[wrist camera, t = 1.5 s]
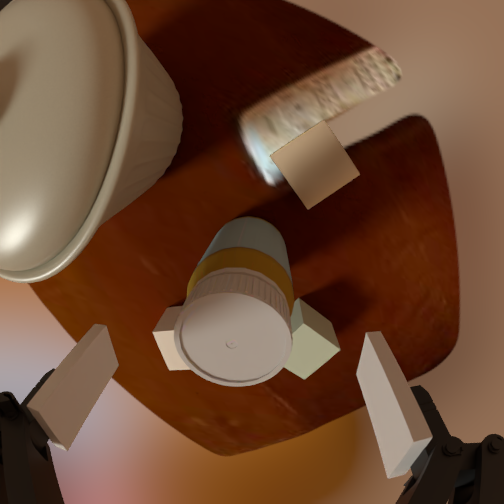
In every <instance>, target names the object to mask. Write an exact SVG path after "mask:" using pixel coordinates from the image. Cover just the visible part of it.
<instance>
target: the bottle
mask: <svg viewBox="0 0 504 504" xmlns="http://www.w3.org/2000/svg"><path fill="white" fill-rule="evenodd" d="M293 307H294V292H293V285H292V279H291V273H290V267H289V262H288V256H287V251H286V245H285V242H284V240H283V238H282V236H281V234H280V232H279V231H278V230H277V229H276V228H275V227H274V226H273V225H272V224H271V223H269V222H267V221H265V220H263V219H261V218H257V217H251V216H246V217H240V218H236V219H234V220H232V221H230V222H228V223H227V224H225V225H224V226H223V227H222V228H221V229H220V230H219V232H218V233H217V234H216V236H215V238H214V239H213V241H212V242H211V244H210V246H209V247H208V249H207V250H206V252H205V254H204V255H203V257H202V259H201V260H200V262H199V263H198V265H197V267H196V268H195V270H194V272H193V274H192V277H191V279H190V281H189V284H188V288H187V299H186V301H185V303H184V304H183V306H182V308H181V310H180V312H179V314H178V316H177V319H176V321H175V326H174V342H175V346H176V349H177V352H178V354H179V355H180V357H181V359H182V360H183V361H184V363H185V364H186V365H187V366H188V367H189V368H190V369H191V370H192V371H194V372H195V373H196V374H198V375H199V376H201V377H203V378H205V379H207V380H209V381H211V382H214V383H217V384H221V385H226V386H249V385H254V384H258V383H261V382H263V381H266V380H268V379H269V378H271V377H273V376H274V375H275V374H277V373H278V372H279V371H280V370H281V369H282V368H283V367H284V365H285V364H286V362H287V360H288V358H289V356H290V353H291V350H292V349H291V347H292V345H293V344H292V341H293V337H292V328H291V319H290V317H291V315H292V311H293Z"/></svg>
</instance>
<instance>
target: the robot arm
mask: <svg viewBox="0 0 504 504" xmlns="http://www.w3.org/2000/svg"><path fill="white" fill-rule="evenodd" d="M11 1H12V0H0V11H1V10H2V9H3V8H4V7H5V6H7V5H8V4H9V3H10V2H11ZM118 366H119V364H118V361H117V358H116V355H115V352H114V349H113V346H112V343H111V340H110V337H109V333H108V330H107V326H106V325H99V324H94V325H93V327H92V328H91V329H90V330H89V331H88V332H87V333H86V334H85V336H84V337H83V338H82V339H81V340H80V341H79V342H78V344H77V345H76V346H75V347H74V348H73V349H72V351H71V352H70V353H69V354H68V355H67V356H66V358H65V359H64V360H63V361H62V362H61V364H60V365H59V366H58V367H57V368H56V369H52V370H50V371H49V372H47V373H46V374H45V375H44V376H43V377H42V378H41V380H40V382H38V383H37V385H36V387H34V388H33V389H32V391H31V392H30V393H29V394H28V396H27V397H26V398H25V399H24V401H23V402H22V403H21V404H19V403H18V401H17V400H16V398H15V397H14V395H13V394H12V393H11V392H2V393H0V504H64V501H63V498H62V494H61V491H60V488H59V484H58V481H57V477H56V473H55V470H54V465H53V462H52V456H51V452H50V447H49V445H48V444H47V441H48V439H50V440H51V441H52V443H53V444H54V445H55V446H56V447H59V448H61V449H63V450H65V451H68V450H69V448H70V446H71V444H72V442H73V441H74V439H75V437H76V435H77V434H78V432H79V430H80V428H81V427H82V425H83V423H84V421H85V420H86V418H87V416H88V415H89V413H90V411H91V409H92V408H93V406H94V405H95V403H96V401H97V400H98V398H99V396H100V394H101V393H102V392H103V390H104V388H105V387H106V385H107V383H108V382H109V380H110V379H111V377H112V375H113V374H114V372H115V371H116V369H117V367H118ZM356 375H357V378H358V381H359V384H360V387H361V390H362V393H363V396H364V399H365V402H366V405H367V408H368V412H369V415H370V418H371V421H372V424H373V428H374V431H375V435H376V438H377V442H378V445H379V449H380V452H381V456H382V459H383V463H384V467H385V470H386V474H387V477H388V478H393V477H397V476H401V475H405V474H406V473H407V471H408V470H409V469H410V468H411V470H412V473H413V475H412V476H411V477H410V478H409V480H408V481H407V482H406V483H405V484H404V486H405V489H404V490H403V492H402V494H401V495H400V497H399V499H398V500H397V502H396V504H446V503H447V501H448V504H504V438H503V437H501V436H500V435H497V434H491V435H488V436H487V437H485V439H484V440H483V441H482V442H481V443H463V442H462V441H461V440H460V439H459V438H457V437H453V436H451V435H450V434H449V432H448V430H447V428H446V426H445V424H444V422H443V420H442V418H441V416H440V414H439V412H438V410H436V406H435V404H434V403H433V400H432V398H431V396H430V395H429V393H428V392H427V391H426V390H425V389H424V388H423V387H421V386H420V385H419V386H414V387H409V385H408V383H407V381H406V379H405V377H404V375H403V373H402V371H401V369H400V367H399V365H398V363H397V361H396V359H395V357H394V356H393V354H392V352H391V350H390V348H389V346H388V344H387V342H386V341H385V339H384V337H383V335H382V333H381V331H379V332H366V336H365V340H364V345H363V349H362V353H361V358H360V362H359V366H358V370H357V374H356ZM448 499H449V500H448Z"/></svg>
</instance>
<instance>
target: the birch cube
mask: <svg viewBox="0 0 504 504" xmlns="http://www.w3.org/2000/svg"><path fill="white" fill-rule="evenodd" d="M270 157H271V159H272V160H273V161H274V163H275V164H276V166H277V167H278V168H279V170H280V171H281V173H282V174H283V175H284V177H285V178H286V180H287V181H288V182H289V184H290V185H291V187H292V188H293V190H294V191H295V192H296V194H297V195H298V197H299V198H300V200H301V201H302V202H303V204H304V205H305V207H306V208H307V209H310V208H311V207H313V206H314V205H316V204H317V203H319V202H320V201H322V200H323V199H325V198H326V197H328V196H329V195H331V194H332V193H334V192H335V191H337V190H338V189H340V188H341V187H343V186H344V185H345V184H347V183H348V182H350V181H351V180H353V179H354V178H356V177H357V176H359V175H360V173H359V172H358V170H357V169H356V167H355V165H354V164H353V162H352V161H351V159H350V157H349V156H348V154H347V153H346V151H345V150H344V148H343V147H342V145H341V144H340V142H339V141H338V139H337V138H336V136H335V135H334V133H333V132H332V130H331V129H330V127H329V126H328V125H327V123H326V122H325V120H323V121H321V122H320V123H318V124H316V125H315V126H313V127H312V128H310V129H309V130H307V131H305V132H304V133H302V134H301V135H299V136H298V137H296V138H295V139H293V140H292V141H290V142H289V143H287V144H286V145H284V146H283V147H281V148H280V149H279V150H277V151H276V152H274V153H273V154H271V155H270Z"/></svg>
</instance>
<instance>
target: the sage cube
mask: <svg viewBox="0 0 504 504" xmlns="http://www.w3.org/2000/svg"><path fill="white" fill-rule="evenodd" d="M290 319H291V328H292V337H293V341H292V344H293V345H292V347H291V349H292V350H291V353H290V356H289V358H288V360H287V362H286V364H285V365H284V367H285V368H286V369H288V370H290V371H291V372H293V373H295V374H296V375H298V376H300V377H301V378H303V379H306V378H307V377H308V376H309V375H311V374H312V373H313V372H314V371H316V370H317V369H318V368H319V367H320V366H322V365H323V364H324V363H325V362H326V361H328V360H329V359H330V358H331V357H332V356H333V355H335V354H336V353H337V352H338V351H339V350H340V347H339V344H338V341H337V338H336V335H335V332H334V329H333V326H332V323H331V322H330V321H329V320H327V319H326V318H325V317H323V316H322V315H321V314H319V313H318V312H317V311H315V310H314V309H313V308H312V307H310V306H309V305H308V304H306V303H305V302H304V301H302V300H301V299H300V298H298V299H297V300H296V301H295V302H294V307H293V311H292V315H291V317H290Z"/></svg>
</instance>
